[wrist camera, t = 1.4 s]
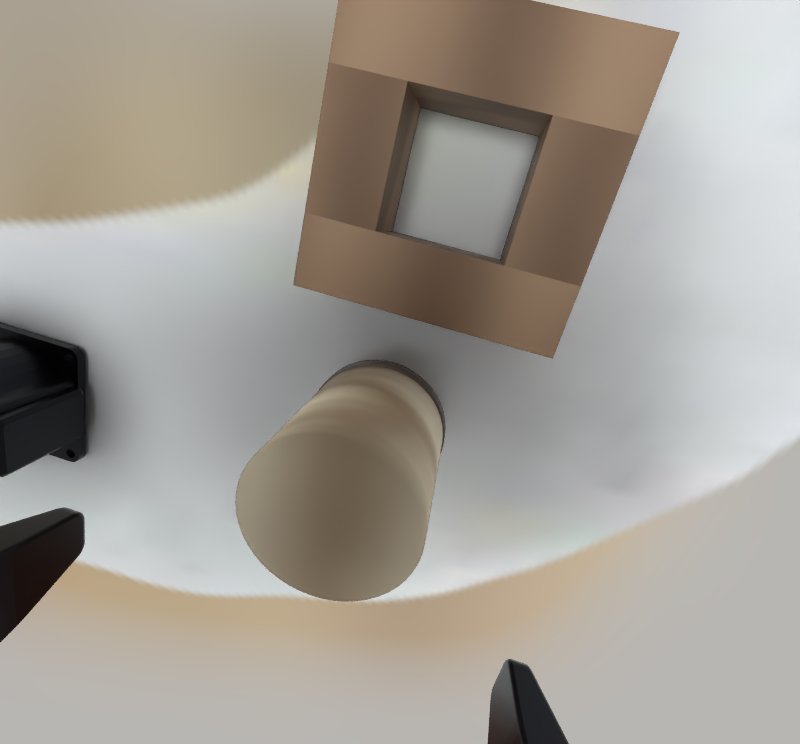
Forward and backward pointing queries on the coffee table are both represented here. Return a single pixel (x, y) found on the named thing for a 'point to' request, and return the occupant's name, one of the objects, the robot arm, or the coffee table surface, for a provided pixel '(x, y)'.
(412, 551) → the peg
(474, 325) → the brown square frame
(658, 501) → the coffee table surface
